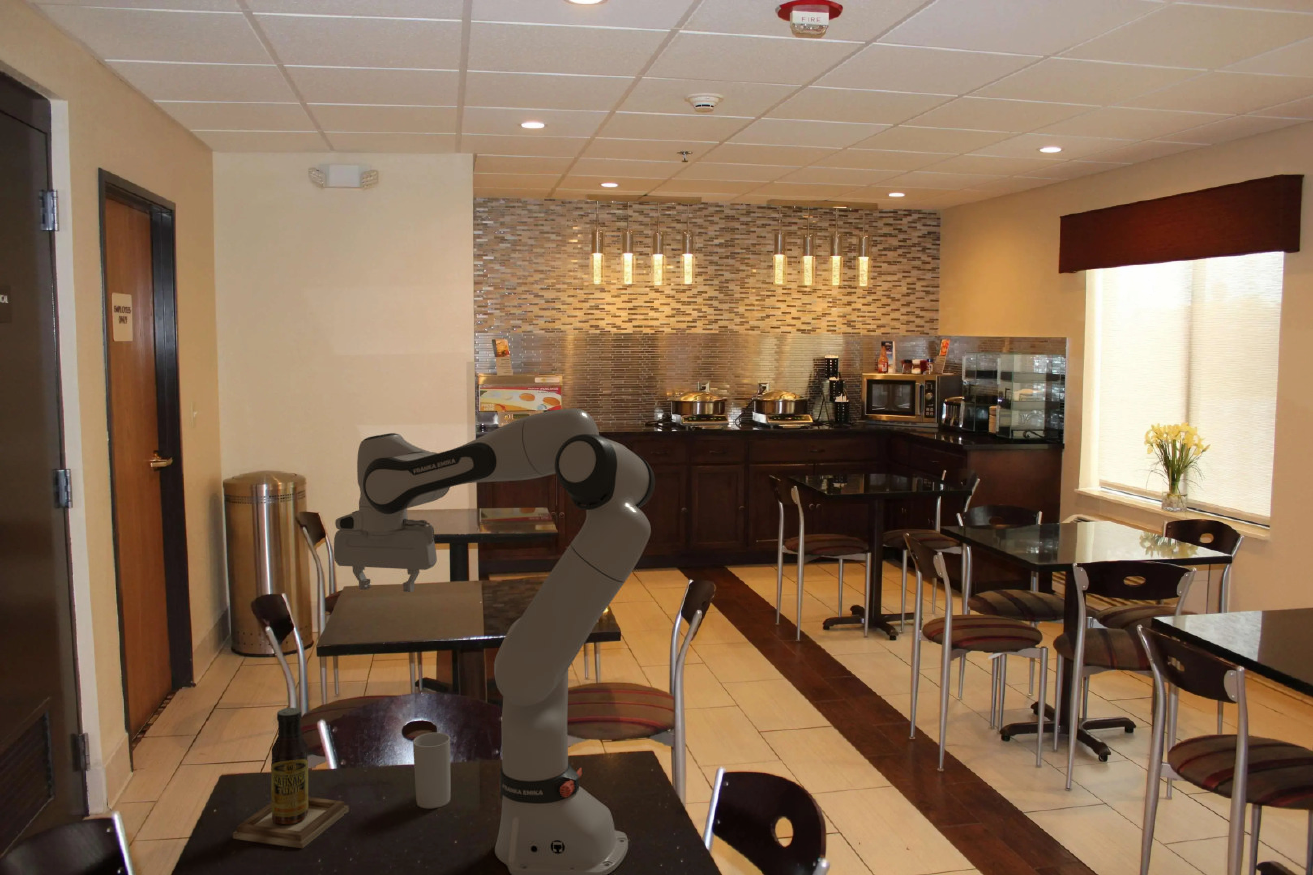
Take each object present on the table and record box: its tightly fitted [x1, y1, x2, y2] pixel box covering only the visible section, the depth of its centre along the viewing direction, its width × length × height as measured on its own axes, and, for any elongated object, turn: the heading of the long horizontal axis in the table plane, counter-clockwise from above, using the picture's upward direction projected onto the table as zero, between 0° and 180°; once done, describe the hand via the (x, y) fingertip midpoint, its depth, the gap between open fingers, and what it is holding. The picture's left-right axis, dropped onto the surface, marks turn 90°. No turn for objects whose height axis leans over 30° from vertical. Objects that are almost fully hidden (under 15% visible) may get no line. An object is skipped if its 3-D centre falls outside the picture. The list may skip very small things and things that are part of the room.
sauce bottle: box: [270, 707, 309, 825], centre depth 177 cm, size 6×6×20 cm
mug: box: [412, 732, 452, 810], centre depth 188 cm, size 10×7×12 cm, turn 178°
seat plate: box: [232, 796, 350, 849], centre depth 178 cm, size 14×14×2 cm
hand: (386, 590), depth 190 cm, fingers open, 8 cm apart
